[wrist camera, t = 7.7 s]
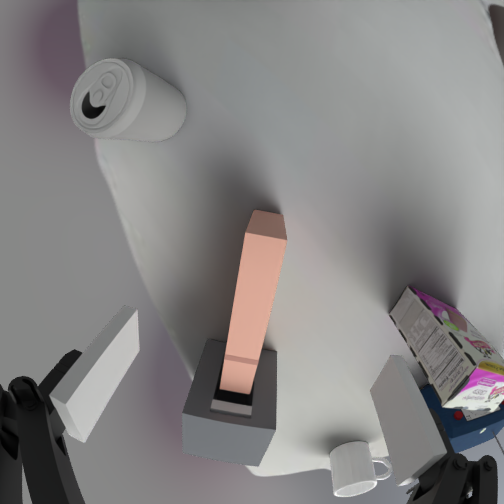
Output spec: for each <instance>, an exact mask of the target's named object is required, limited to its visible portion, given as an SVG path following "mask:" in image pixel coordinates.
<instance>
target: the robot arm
mask: <svg viewBox="0 0 504 504" xmlns="http://www.w3.org/2000/svg"><path fill="white" fill-rule="evenodd" d="M138 352H139V332H138V309H136V308H132V307H129V306H126V305H124V306H123V307H122V308H121V310H120V311H119V312H118V313H117V314H116V315H115V316H114V317H113V318H112V320H111V321H110V322H109V323H108V324H107V325H106V326H105V328H104V329H103V330H102V331H101V332H100V333H99V335H98V336H97V337H96V338H95V339H94V340H93V342H92V343H91V344H90V345H89V346H88V348H87V349H86V350H85V351H84V352H83V353H82V352H80V351H77V350H75V349H74V350H72V351H71V352H69V353H67V354H65V356H63V358H62V359H61V360H60V361H59V363H58V364H56V366H55V367H54V369H52V370H51V371H50V373H49V374H48V375H47V376H46V377H45V379H44V380H43V381H42V382H41V383H40V385H39V386H37V384H36V383H35V381H34V380H33V379H31V378H29V377H26V376H21V377H17V378H15V379H13V380H12V381H11V383H10V384H9V387H8V391H9V392H7V391H4V390H3V388H2V386H1V384H0V504H23V503H22V463H23V467H24V473H25V477H26V481H27V485H28V489H29V493H30V497H31V500H32V504H85V502H84V500H83V497H82V494H81V492H80V489H79V487H78V484H77V481H76V478H75V475H74V472H73V469H72V466H71V462H70V459H69V455H68V452H67V448H66V445H65V440H64V437H63V435H62V433H63V432H64V430H65V429H66V430H67V432H68V433H69V435H70V436H72V437H74V438H76V439H78V440H80V441H82V442H84V443H85V441H86V440H87V438H88V436H89V434H90V433H91V431H92V429H93V427H94V425H95V424H96V422H97V420H98V418H99V417H100V415H101V413H102V411H103V410H104V408H105V406H106V405H107V403H108V401H109V400H110V398H111V396H112V395H113V393H114V391H115V389H116V388H117V386H118V384H119V383H120V381H121V380H122V378H123V376H124V375H125V373H126V371H127V370H128V368H129V366H130V365H131V363H132V362H133V360H134V358H135V357H136V355H137V354H138ZM370 392H371V395H372V398H373V401H374V405H375V408H376V411H377V414H378V418H379V421H380V424H381V428H382V431H383V434H384V438H385V441H386V445H387V449H388V452H389V456H390V459H391V463H392V467H393V471H394V475H395V479H396V483H397V486H402V485H407V484H411V483H412V482H413V481H414V480H416V479H417V478H418V479H419V483H418V484H416V485H415V486H414V487H412V488H411V489H409V490H408V491H407V494H408V493H410V492H411V491H413V492H412V494H411V495H410V498H409V500H408V502H407V504H497V496H498V494H497V493H498V479H497V478H498V476H497V463H496V461H495V459H494V458H493V457H492V456H489V455H485V456H483V457H482V458H481V459H480V460H479V461H468V460H467V459H466V457H465V456H463V455H462V454H459V453H455V452H454V449H453V447H452V445H451V442H450V440H449V438H448V435H447V433H446V431H444V426H443V424H442V422H441V420H440V418H439V416H438V414H437V413H436V412H435V411H434V410H433V409H432V408H428V407H427V405H426V402H425V400H424V398H423V396H422V394H421V392H420V390H419V388H418V386H417V384H416V382H415V380H414V378H413V376H412V374H411V372H410V370H409V368H408V366H407V364H406V362H405V360H404V358H403V357H402V356H399V355H390V357H389V359H388V361H387V363H386V364H385V366H384V368H383V370H382V371H381V373H380V375H379V376H378V378H377V380H376V381H375V383H374V385H373V386H372V388H371V389H370ZM471 491H472V496H471V497H470V498H469V497H468V495H469V493H470V492H471Z"/></svg>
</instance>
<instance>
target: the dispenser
mask: <svg viewBox="0 0 504 504" xmlns="http://www.w3.org/2000/svg"><path fill="white" fill-rule="evenodd" d="M226 344H227V343H225V342H220V341H215V340H210V339H207V342H206V345H205V348H204V351H203V353H202V356H201V359H200V362H199V365H198V368H197V371H196V374H195V377H194V379H193V382H192V385H191V388H190V391H189V394H188V397H187V400H186V403H185V406H184V409H183V412H182V444H183V453H185V454H190V455H194V456H198V457H203V458H207V459H212V460H218V461H223V462H229V463H235V464H242V465H249V466H259V464H260V462H261V460H262V458H263V456H264V454H265V452H266V450H267V448H268V446H269V444H270V442H271V440H272V437H273V435H274V433H275V431H276V402H277V352H275V351H269V350H263V349H261V353H260V357H259V362H258V365H257V369H256V373H255V376H254V380H253V384H252V388H251V391H250V394H245V393H239V392H233V391H228V390H223V389H220V382H221V376H222V370H223V363H224V357H225V351H226Z"/></svg>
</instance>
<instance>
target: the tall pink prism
mask: <svg viewBox="0 0 504 504" xmlns="http://www.w3.org/2000/svg"><path fill="white" fill-rule="evenodd" d="M286 244H287V236H286V229H285V223H284V217H283V215H281V214H276V213H271V212H266V211H260V210H255V209H254V210H253V213H252V216H251V219H250V221H249V224H248V227H247V229H246V232H245V238H244V243H243V249H242V255H241V261H240V267H239V273H238V279H237V285H236V291H235V297H234V303H233V309H232V315H231V321H230V327H229V334H228V340H227V346H226V352H225V357H224V365H223V371H222V377H221V384H220V389H223V390H228V391H233V392H239V393H245V394H250V391H251V388H252V384H253V380H254V376H255V373H256V369H257V365H258V362H259V357H260V353H261V349H262V345H263V341H264V337H265V333H266V329H267V325H268V321H269V317H270V313H271V309H272V305H273V301H274V296H275V292H276V288H277V284H278V279H279V275H280V271H281V266H282V262H283V257H284V253H285V248H286Z"/></svg>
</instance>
